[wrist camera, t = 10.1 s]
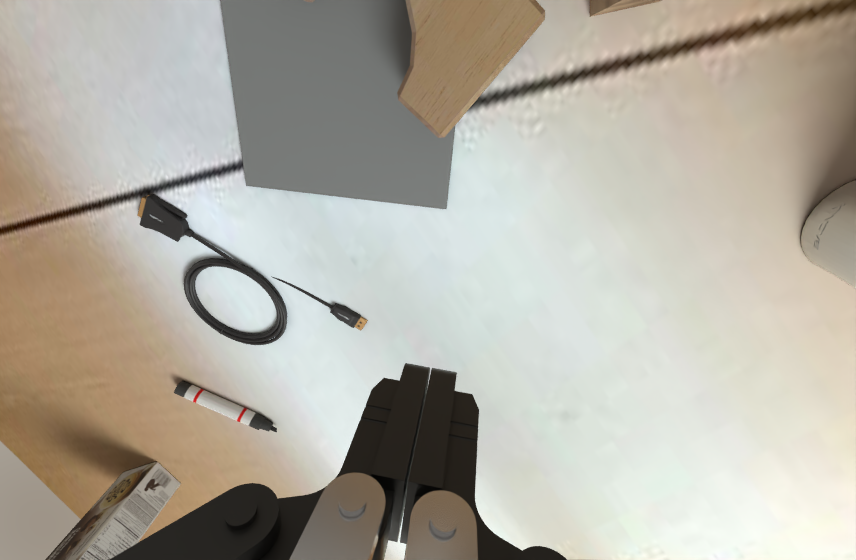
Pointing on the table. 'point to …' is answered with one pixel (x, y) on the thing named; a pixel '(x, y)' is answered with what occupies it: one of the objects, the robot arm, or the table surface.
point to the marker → (223, 406)
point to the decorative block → (460, 53)
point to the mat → (331, 101)
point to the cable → (176, 226)
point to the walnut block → (615, 5)
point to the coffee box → (119, 515)
